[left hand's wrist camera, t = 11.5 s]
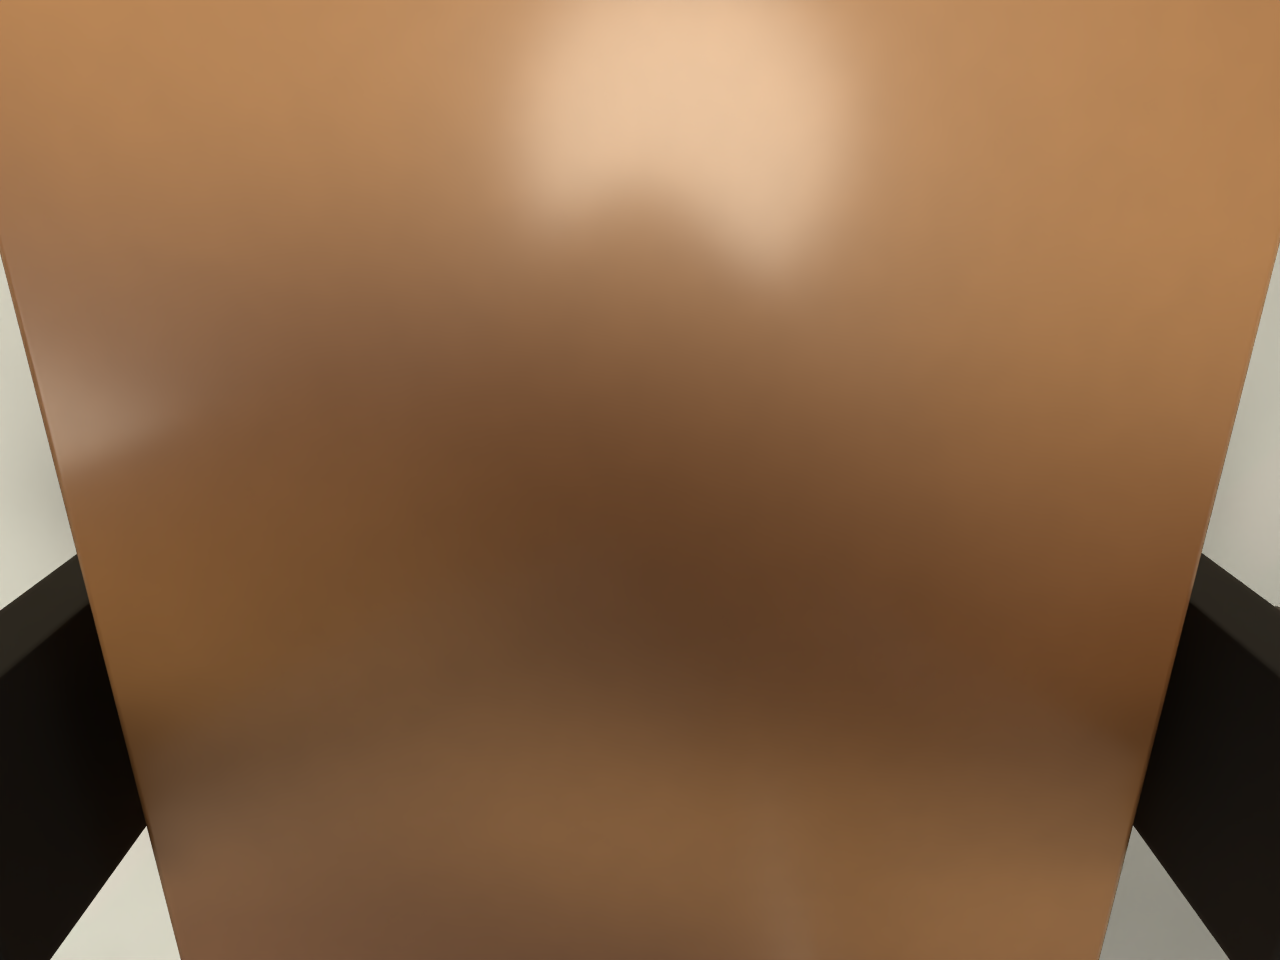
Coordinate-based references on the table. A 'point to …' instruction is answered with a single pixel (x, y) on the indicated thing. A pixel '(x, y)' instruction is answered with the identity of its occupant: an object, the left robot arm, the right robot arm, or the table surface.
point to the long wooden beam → (639, 451)
